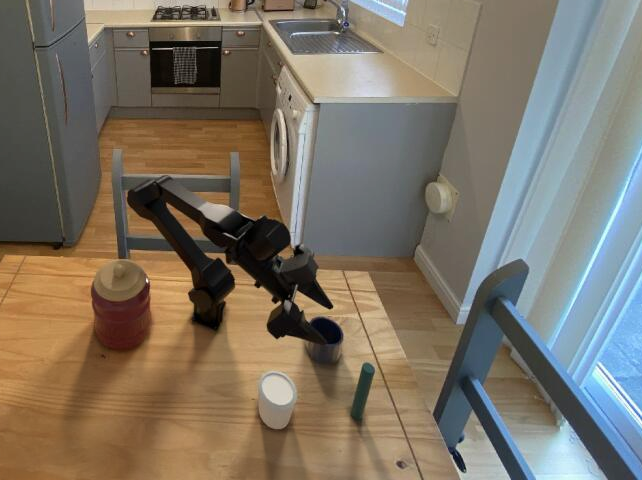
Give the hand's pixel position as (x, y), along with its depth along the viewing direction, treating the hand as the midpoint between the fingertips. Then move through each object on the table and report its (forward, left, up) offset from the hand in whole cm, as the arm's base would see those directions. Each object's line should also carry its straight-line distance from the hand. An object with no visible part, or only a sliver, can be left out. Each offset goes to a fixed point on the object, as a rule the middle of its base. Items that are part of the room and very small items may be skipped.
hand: (328, 325), depth 78 cm
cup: (0, +7, -15) cm, 17 cm away
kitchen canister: (-42, -5, -15) cm, 45 cm away
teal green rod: (+7, -4, -15) cm, 17 cm away
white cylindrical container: (-7, -10, -15) cm, 20 cm away
